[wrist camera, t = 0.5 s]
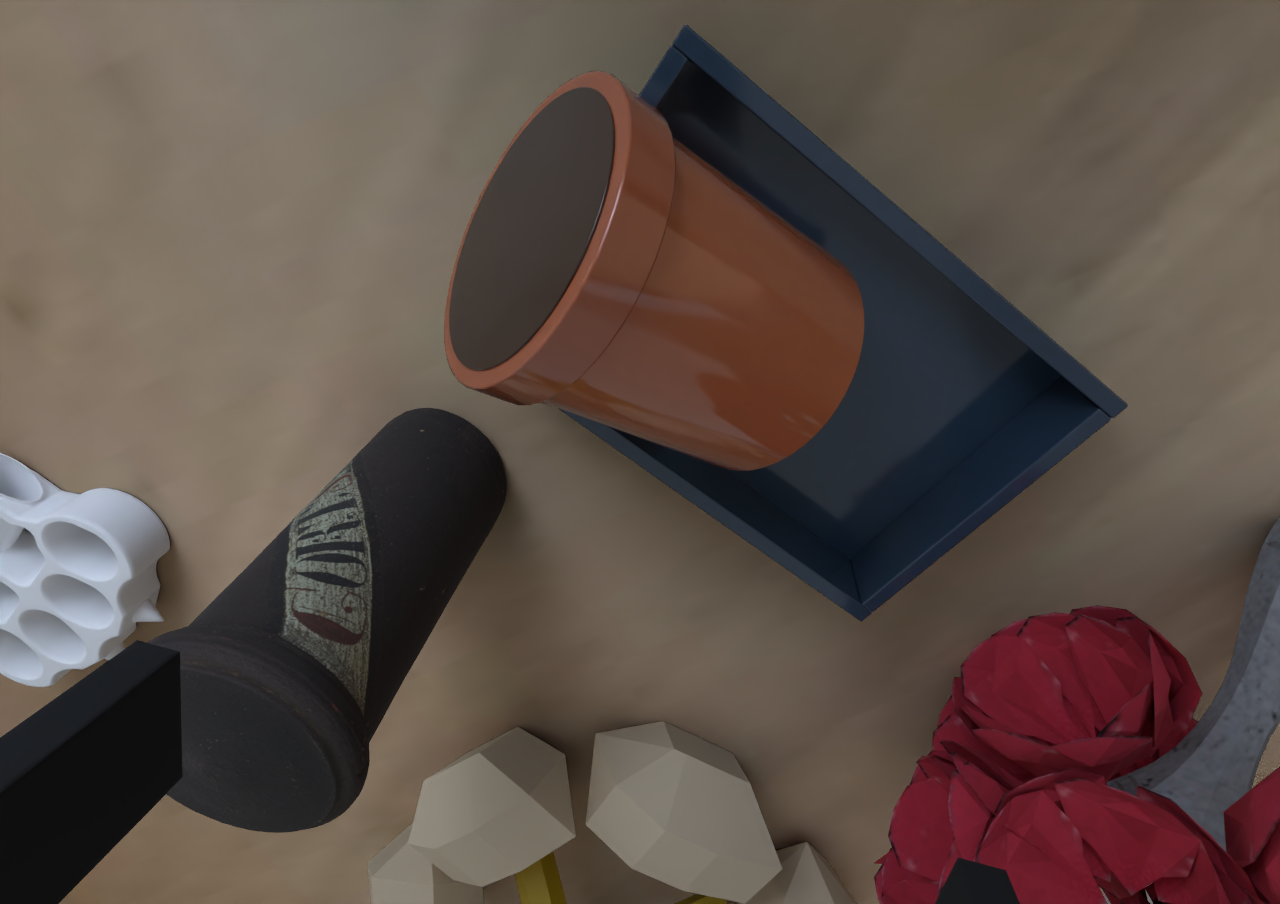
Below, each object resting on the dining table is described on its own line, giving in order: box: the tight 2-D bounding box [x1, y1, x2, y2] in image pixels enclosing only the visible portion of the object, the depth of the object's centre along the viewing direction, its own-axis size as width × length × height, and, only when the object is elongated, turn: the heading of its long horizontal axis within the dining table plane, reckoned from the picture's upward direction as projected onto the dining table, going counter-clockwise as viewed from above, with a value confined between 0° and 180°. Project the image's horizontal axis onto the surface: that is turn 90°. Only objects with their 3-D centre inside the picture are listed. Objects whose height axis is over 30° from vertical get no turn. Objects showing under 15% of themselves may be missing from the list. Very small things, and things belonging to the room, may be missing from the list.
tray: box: [558, 25, 1128, 621], centre depth 33 cm, size 16×24×5 cm, turn 54°
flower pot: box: [444, 71, 865, 471], centre depth 26 cm, size 11×16×15 cm
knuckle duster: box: [0, 453, 170, 687], centre depth 46 cm, size 3×18×15 cm
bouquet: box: [874, 517, 1280, 904], centre depth 32 cm, size 22×24×30 cm
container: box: [147, 408, 506, 833], centre depth 32 cm, size 9×9×20 cm
